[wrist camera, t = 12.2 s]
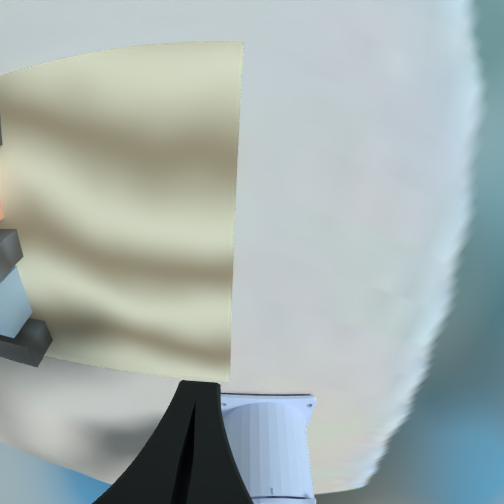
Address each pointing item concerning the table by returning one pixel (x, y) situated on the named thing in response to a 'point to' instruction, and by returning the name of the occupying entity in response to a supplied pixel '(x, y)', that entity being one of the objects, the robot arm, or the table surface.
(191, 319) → the comb board
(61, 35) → the table surface
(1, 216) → the peach square block
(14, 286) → the slate-blue plug
